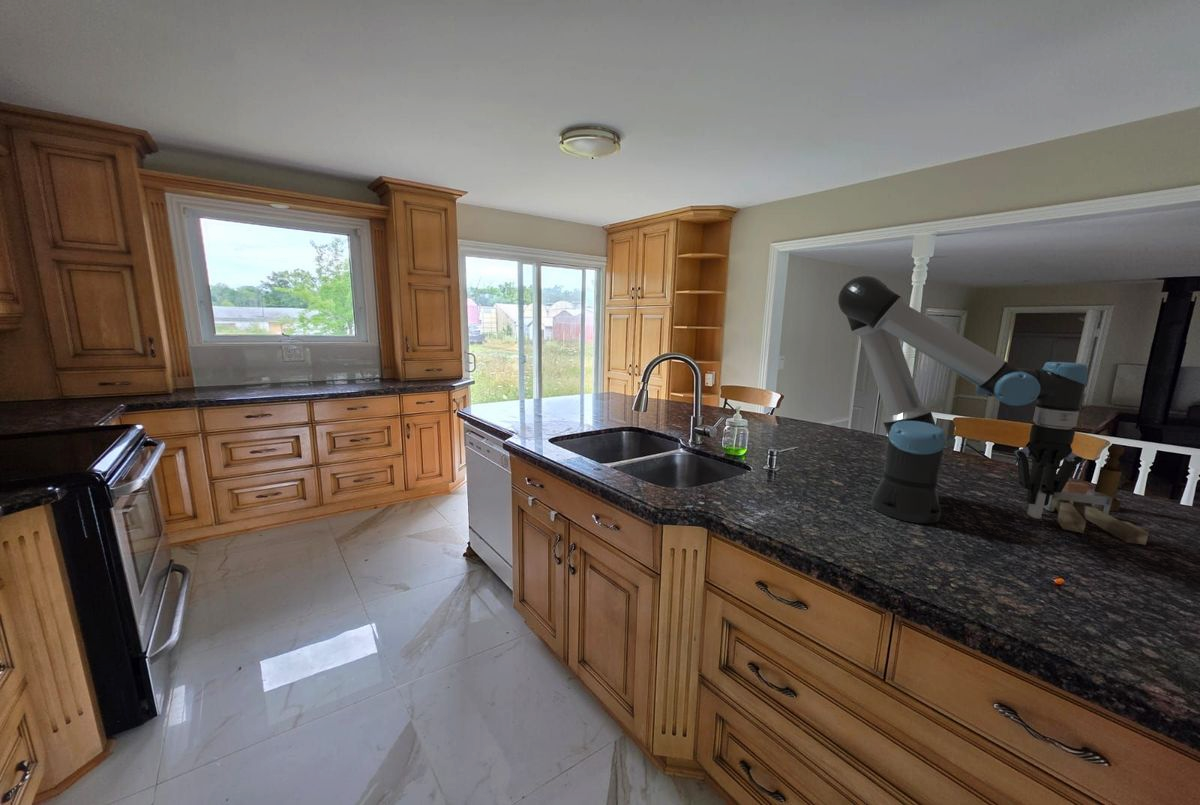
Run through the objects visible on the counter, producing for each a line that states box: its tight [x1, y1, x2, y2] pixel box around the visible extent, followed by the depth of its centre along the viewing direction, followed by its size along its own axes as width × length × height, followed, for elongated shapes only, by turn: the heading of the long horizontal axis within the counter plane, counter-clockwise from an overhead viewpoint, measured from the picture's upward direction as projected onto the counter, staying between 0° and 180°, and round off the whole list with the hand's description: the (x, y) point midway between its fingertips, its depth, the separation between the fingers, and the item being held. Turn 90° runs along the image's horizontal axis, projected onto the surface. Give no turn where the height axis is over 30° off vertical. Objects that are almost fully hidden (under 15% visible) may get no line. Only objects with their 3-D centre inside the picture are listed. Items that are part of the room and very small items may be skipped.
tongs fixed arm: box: [1069, 501, 1150, 546], centre depth 114 cm, size 5×23×3 cm, turn 162°
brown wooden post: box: [1087, 444, 1125, 512], centre depth 123 cm, size 7×6×18 cm
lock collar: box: [1043, 480, 1113, 515], centre depth 119 cm, size 12×4×8 cm, turn 72°
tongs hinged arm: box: [1054, 499, 1087, 534], centre depth 117 cm, size 6×24×4 cm, turn 144°
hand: (1034, 516), depth 112 cm, fingers closed
